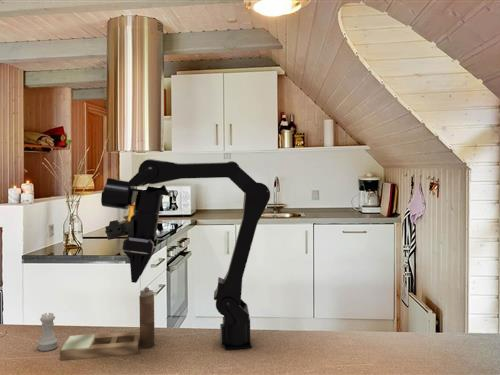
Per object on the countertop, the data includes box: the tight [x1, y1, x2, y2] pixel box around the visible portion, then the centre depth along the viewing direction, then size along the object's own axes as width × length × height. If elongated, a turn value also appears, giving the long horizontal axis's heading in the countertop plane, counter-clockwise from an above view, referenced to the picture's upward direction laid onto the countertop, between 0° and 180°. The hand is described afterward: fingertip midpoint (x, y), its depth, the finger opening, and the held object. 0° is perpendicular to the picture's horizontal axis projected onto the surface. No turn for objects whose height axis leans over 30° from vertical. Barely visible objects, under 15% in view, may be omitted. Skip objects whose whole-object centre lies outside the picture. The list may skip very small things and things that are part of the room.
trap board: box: [59, 330, 140, 361], centre depth 99 cm, size 16×9×2 cm, turn 101°
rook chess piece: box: [37, 312, 59, 352], centre depth 100 cm, size 4×4×8 cm
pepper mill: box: [138, 286, 156, 350], centre depth 101 cm, size 3×3×14 cm
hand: (136, 279), depth 99 cm, fingers open, 9 cm apart
